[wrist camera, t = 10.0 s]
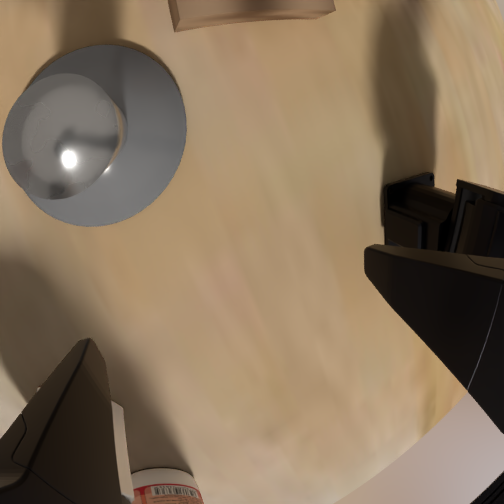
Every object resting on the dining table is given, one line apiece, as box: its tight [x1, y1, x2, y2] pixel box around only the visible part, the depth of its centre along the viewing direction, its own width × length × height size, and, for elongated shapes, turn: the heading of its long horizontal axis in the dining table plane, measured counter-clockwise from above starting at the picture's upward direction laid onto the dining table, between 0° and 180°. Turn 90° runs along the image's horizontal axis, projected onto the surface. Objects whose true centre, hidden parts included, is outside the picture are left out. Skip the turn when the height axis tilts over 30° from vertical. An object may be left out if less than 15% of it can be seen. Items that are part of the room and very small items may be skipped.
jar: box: [37, 387, 134, 504], centre depth 17 cm, size 9×8×12 cm
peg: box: [2, 73, 128, 200], centre depth 12 cm, size 4×4×9 cm
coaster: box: [23, 45, 187, 227], centre depth 16 cm, size 11×11×1 cm
